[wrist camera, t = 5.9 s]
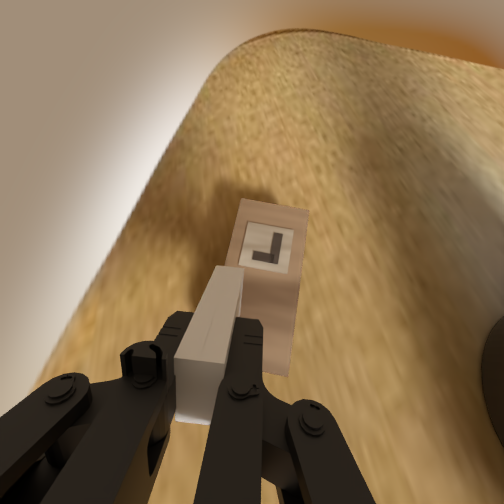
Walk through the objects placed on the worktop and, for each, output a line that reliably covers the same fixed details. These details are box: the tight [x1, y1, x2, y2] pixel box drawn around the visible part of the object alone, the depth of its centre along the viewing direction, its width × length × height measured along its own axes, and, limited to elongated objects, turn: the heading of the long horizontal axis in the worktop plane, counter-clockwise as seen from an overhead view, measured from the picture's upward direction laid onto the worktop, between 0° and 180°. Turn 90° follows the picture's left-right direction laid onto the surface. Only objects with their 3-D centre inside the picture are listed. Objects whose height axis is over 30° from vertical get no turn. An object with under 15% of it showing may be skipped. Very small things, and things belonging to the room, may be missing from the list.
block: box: [224, 198, 309, 377], centre depth 19 cm, size 5×5×11 cm
